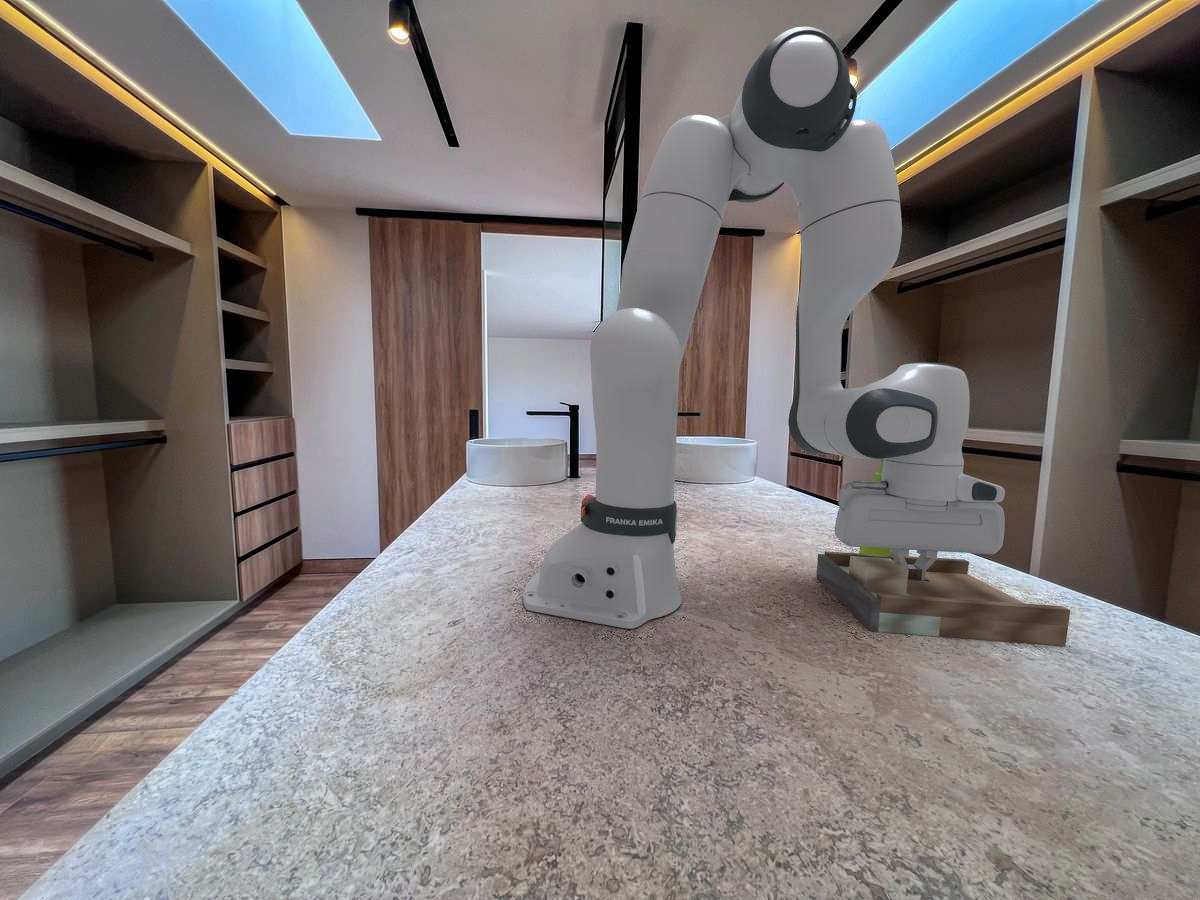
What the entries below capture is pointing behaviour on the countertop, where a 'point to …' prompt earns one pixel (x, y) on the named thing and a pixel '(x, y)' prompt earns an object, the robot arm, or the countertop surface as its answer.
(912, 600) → the board
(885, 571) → the maple block
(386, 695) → the countertop surface
